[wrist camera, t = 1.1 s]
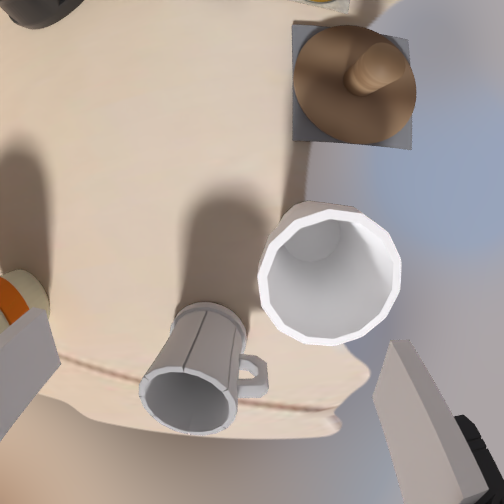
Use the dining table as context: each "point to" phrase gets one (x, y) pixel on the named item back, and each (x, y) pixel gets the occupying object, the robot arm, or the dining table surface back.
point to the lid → (354, 84)
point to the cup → (202, 372)
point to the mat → (306, 128)
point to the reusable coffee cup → (20, 296)
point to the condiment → (328, 4)
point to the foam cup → (328, 274)
